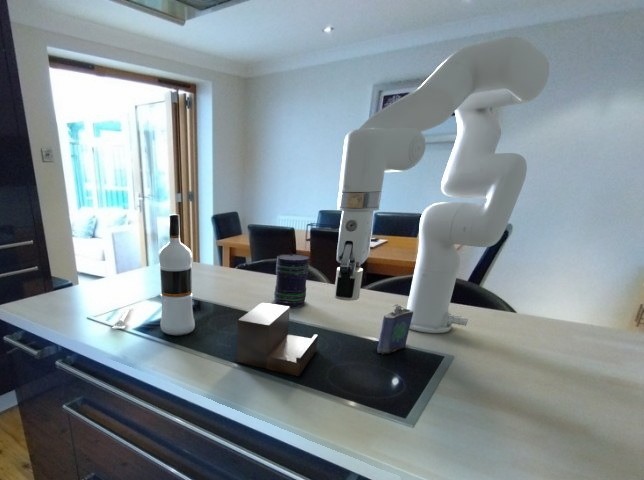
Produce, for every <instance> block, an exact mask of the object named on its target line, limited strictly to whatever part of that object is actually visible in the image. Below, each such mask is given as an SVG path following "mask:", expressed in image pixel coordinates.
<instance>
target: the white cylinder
mask: <svg viewBox="0 0 644 480" xmlns="http://www.w3.org/2000/svg"><path fill="white" fill-rule="evenodd" d="M349 267H351V269H352V266H349ZM339 269H340V266H338V267H337V268H336V273H335V274H336V275H335V282H334V289H333V298H335V299H336V300H340V301H348V302H351V301H352V302H353V301H357V300H359V299H360V294H361V286H362V281H363V273H364V269H363V268H362V267H360V268H359V267H355V272H354V278H355V283H354V290H353V296H352V298H345V297H337V296H336V289H337V280H338V275H339Z"/></svg>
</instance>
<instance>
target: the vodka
mask: <svg viewBox="0 0 644 480" xmlns="http://www.w3.org/2000/svg"><path fill="white" fill-rule="evenodd" d="M180 228H181V227H180V214H177V213H172V214H169V215H168V232H169V233H168V235H169V241H168V242H167V244H166V245H164V246H163V247H162V248H160V249H159V251H158V261H159V262H158V263H159V264H158V267H159V271H160V272H159V274H160V301H161V318H160V323H159V324H160V326H159V327H160V330H161V332H162V333H164V334H165V335H169V336H176V337H177V336H185V335H188V334H190V333H192V332H193V331H194V330H195V328H196V322H195V318H194V310H193V296H194V294H193V284H192V283H193V281H192V279H193V278H192V267H193V263H192V262H193V253H192V251H191V248H189V247H188V246H187V245H185V244H184V243H183V242H181V233H180V232H181V231H180V230H181V229H180Z"/></svg>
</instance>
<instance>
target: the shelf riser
mask: <svg viewBox="0 0 644 480" xmlns="http://www.w3.org/2000/svg"><path fill="white" fill-rule="evenodd" d="M290 314H291V308H290V307H289V306H282V305H276V304H274V303H268V302H261V303H259V304H258V305H256V306H255V307H253V309H251V310H249V311H248V312H247V313H245V314H244V315H243V316H241V317H240V318H239V319H237V336H236V340H237V341H236V363H240V364H245V365H249V366H252V367H257V368H262V369H264V370H265V369H266V370H269V371H275V372H278V373H282V374H286V375H291V376H295V377H299V376H300V375H301V374H302V372H303V371H304V370H305V368H306V366H307V365H308V364H309V362H310V361H311V359H312V358H313V356H314V355H315V354H316V353H317V347H318V340H319V339H318V338H319V335H318V334H313V336H312V337H311V338H310V337H304V336H300V335H299V336H298V335H293V334H289V325H290V324H289V323H290Z"/></svg>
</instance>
